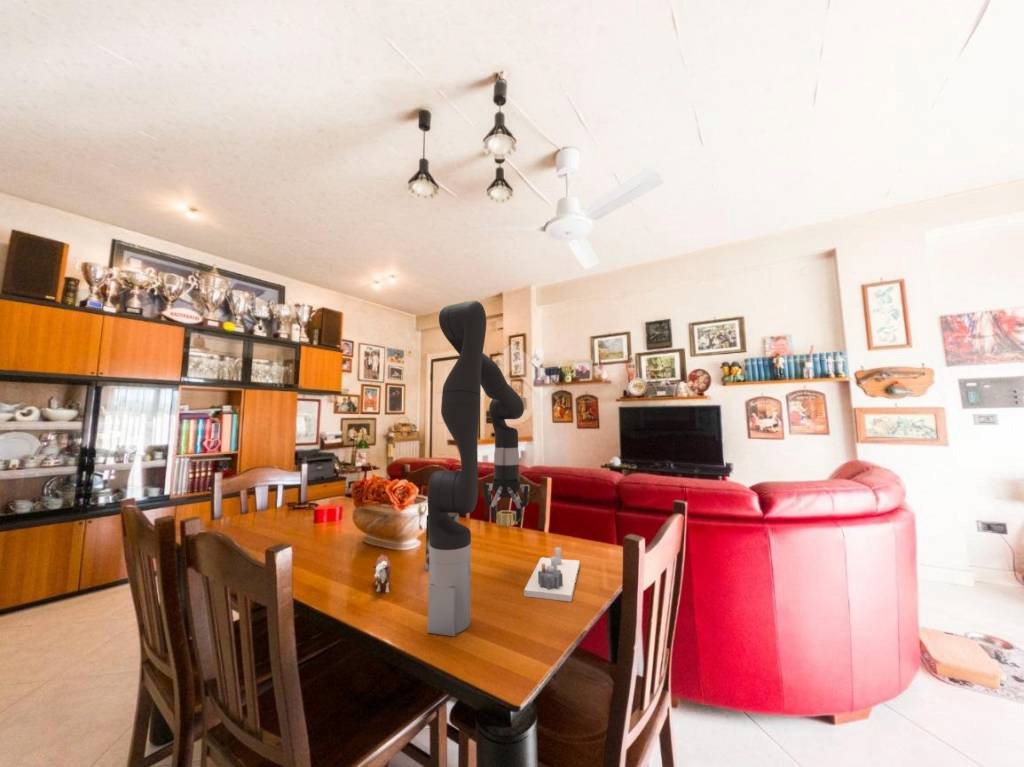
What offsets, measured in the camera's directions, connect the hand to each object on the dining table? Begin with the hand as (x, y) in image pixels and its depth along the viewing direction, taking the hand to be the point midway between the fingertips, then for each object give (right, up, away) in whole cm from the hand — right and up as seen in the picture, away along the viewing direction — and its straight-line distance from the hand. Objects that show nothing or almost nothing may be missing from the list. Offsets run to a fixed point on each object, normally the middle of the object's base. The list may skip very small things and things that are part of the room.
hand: (506, 520), depth 112 cm
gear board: (+13, -15, -5) cm, 21 cm away
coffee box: (-20, -16, +5) cm, 26 cm away
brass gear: (0, -1, 0) cm, 1 cm away
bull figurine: (-33, -15, -10) cm, 38 cm away
